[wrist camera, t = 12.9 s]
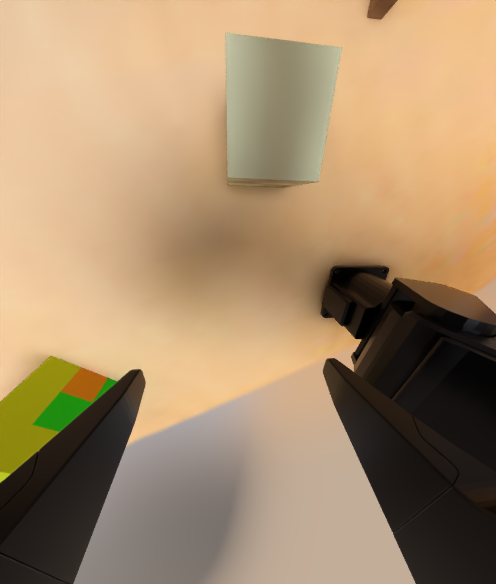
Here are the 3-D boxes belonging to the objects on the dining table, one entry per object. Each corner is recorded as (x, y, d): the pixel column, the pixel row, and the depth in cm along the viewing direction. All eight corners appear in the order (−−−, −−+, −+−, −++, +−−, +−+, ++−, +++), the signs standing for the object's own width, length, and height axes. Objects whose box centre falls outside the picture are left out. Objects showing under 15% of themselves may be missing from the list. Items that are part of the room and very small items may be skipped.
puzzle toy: (23, 399, 25) (-90, 511, 16) (51, 355, 22) (-66, 460, 13) (100, 422, 29) (43, 523, 20) (132, 387, 26) (83, 486, 17)
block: (292, 112, 14) (341, 47, 8) (284, 187, 16) (318, 181, 10) (226, 107, 14) (225, 32, 8) (227, 185, 16) (227, 177, 10)
